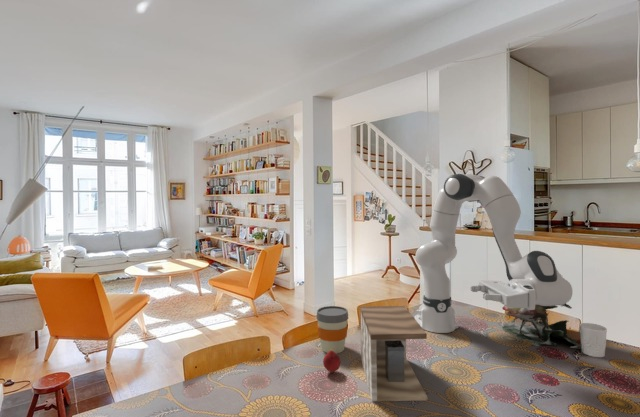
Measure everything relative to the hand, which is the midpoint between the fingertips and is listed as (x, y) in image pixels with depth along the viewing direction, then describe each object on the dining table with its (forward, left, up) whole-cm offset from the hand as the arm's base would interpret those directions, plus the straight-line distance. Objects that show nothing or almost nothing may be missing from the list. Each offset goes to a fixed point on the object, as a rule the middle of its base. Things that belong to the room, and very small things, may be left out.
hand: (477, 292), depth 115 cm
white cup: (-12, +48, -27) cm, 56 cm away
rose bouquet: (-30, +38, -27) cm, 56 cm away
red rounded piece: (-1, -49, -27) cm, 56 cm away
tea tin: (+5, -29, -26) cm, 39 cm away
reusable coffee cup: (-20, -48, -27) cm, 59 cm away
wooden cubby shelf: (+3, -30, -27) cm, 40 cm away
